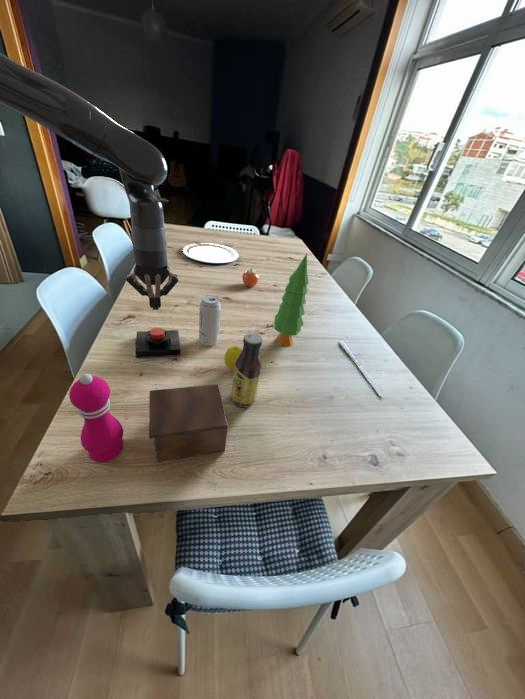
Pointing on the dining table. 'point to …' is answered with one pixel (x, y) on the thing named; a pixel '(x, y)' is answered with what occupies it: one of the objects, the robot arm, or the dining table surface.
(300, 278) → the decorative tree
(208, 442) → the box
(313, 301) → the dining table surface
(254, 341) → the sauce bottle
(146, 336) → the button housing
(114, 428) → the pepper mill
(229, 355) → the lemon
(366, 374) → the butter knife
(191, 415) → the lid
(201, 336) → the energy drink can
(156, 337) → the button
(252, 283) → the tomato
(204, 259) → the plate
